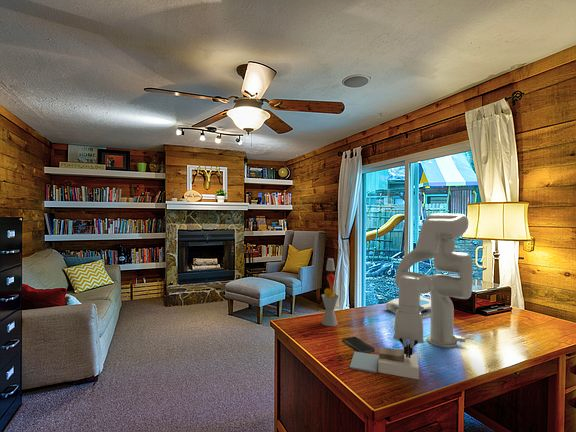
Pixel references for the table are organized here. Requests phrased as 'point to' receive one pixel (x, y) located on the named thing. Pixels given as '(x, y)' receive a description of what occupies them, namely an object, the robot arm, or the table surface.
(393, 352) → the walnut tile
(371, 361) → the mat
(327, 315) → the lava lamp
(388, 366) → the riser
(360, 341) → the phone
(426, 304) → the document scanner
